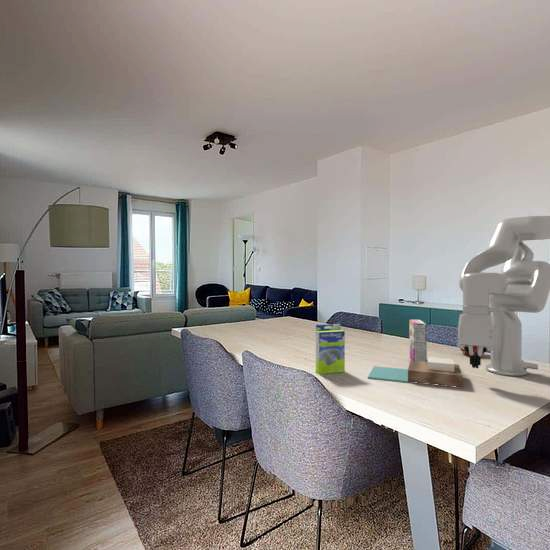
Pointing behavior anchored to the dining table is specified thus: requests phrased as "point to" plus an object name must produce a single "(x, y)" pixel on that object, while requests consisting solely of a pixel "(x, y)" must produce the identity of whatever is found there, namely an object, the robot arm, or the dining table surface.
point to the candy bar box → (417, 340)
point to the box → (330, 349)
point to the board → (433, 375)
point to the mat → (389, 374)
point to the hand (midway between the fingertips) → (475, 367)
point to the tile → (441, 364)
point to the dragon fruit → (473, 350)
